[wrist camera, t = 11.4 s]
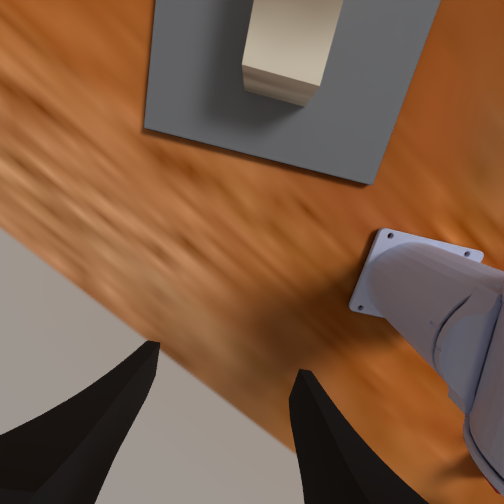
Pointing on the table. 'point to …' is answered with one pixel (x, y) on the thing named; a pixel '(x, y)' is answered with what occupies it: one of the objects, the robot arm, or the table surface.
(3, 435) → the robot arm
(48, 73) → the table surface
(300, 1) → the birch card box
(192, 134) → the charcoal rubber mat
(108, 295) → the table surface
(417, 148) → the table surface
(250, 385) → the table surface
